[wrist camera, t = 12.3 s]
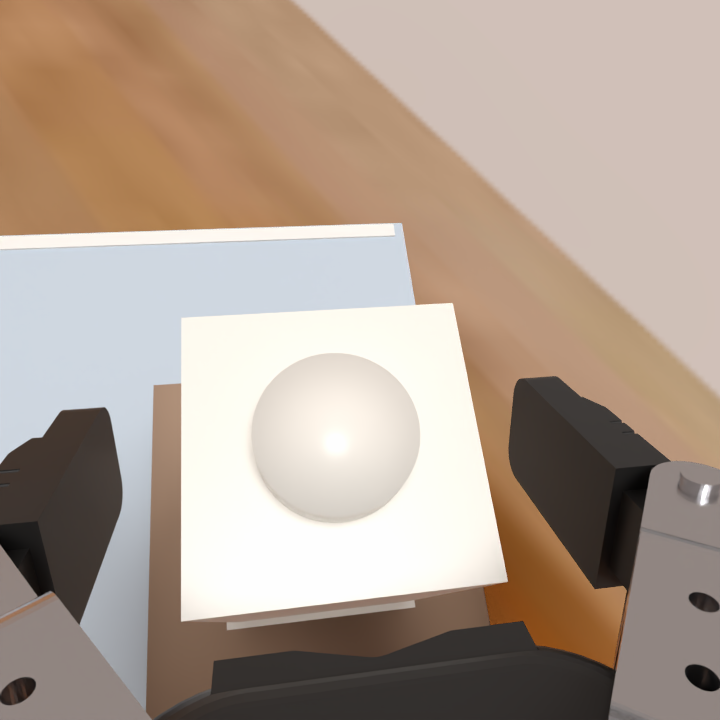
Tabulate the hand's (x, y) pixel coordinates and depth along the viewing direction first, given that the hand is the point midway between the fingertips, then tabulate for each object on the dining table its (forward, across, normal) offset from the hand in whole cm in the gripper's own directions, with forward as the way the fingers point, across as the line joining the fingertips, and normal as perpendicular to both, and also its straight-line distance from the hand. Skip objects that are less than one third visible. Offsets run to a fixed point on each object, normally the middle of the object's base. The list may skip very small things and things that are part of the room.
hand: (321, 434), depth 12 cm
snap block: (+3, 0, +5) cm, 6 cm away
